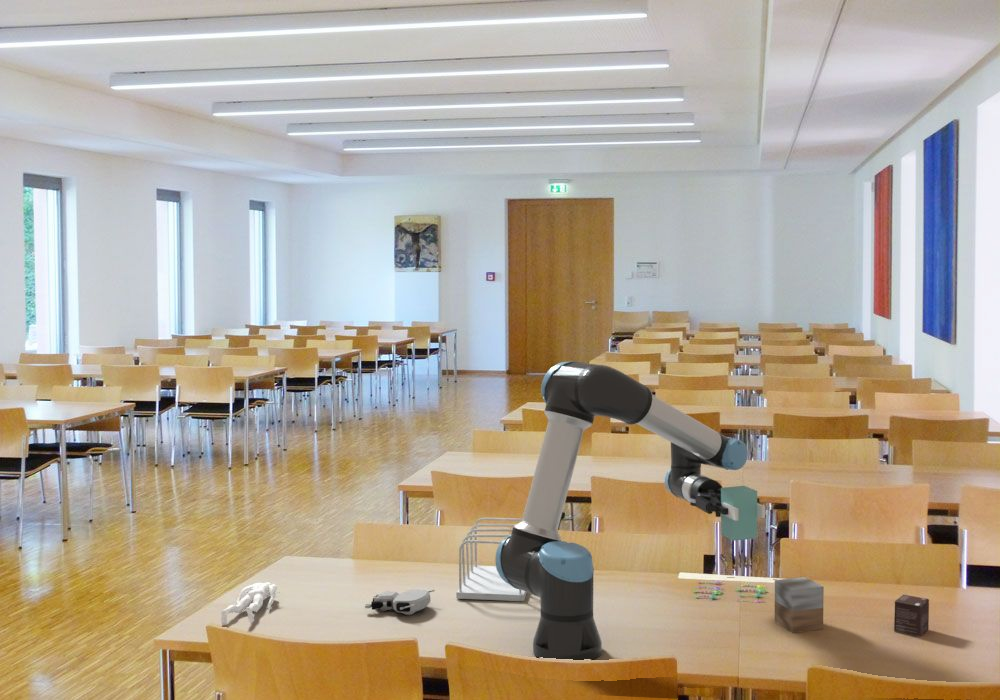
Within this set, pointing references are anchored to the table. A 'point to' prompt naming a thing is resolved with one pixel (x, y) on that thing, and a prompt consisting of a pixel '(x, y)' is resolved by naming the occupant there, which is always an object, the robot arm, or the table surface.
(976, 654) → the table surface
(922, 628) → the box
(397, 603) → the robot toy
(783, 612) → the grey wood-grain cube
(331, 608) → the table surface
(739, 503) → the teal brick
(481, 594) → the file sorter
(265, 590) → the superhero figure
